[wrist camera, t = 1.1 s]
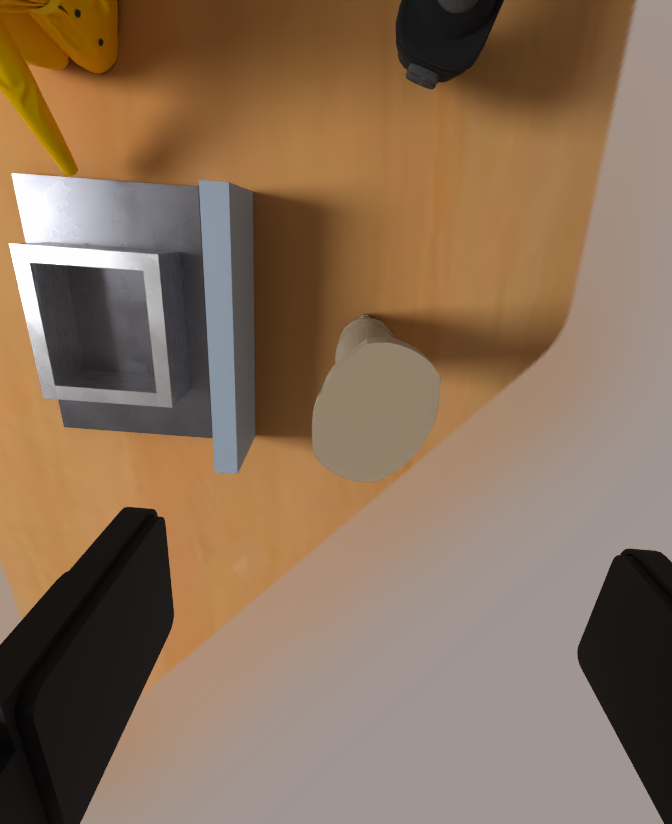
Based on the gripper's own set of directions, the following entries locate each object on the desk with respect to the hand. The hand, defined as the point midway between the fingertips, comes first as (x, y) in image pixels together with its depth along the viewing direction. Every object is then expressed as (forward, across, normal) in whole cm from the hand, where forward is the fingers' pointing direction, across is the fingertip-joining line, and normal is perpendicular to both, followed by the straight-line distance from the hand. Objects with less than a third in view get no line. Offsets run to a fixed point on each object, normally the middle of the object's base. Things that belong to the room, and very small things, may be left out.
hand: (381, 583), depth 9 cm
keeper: (+24, +17, 0) cm, 30 cm away
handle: (+25, 0, 0) cm, 25 cm away
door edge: (+24, +9, 0) cm, 26 cm away
